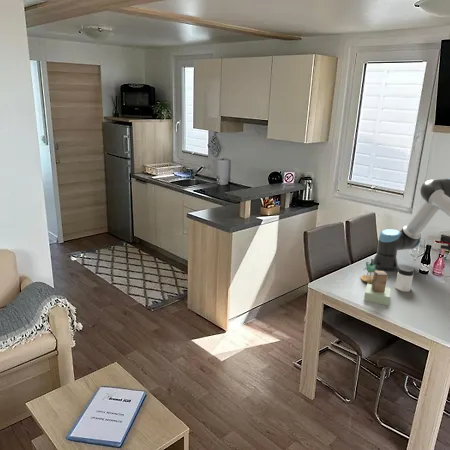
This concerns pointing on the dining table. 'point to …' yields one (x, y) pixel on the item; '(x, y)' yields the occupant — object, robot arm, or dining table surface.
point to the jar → (404, 278)
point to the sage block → (377, 295)
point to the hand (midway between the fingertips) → (430, 241)
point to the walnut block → (379, 281)
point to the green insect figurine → (370, 269)
